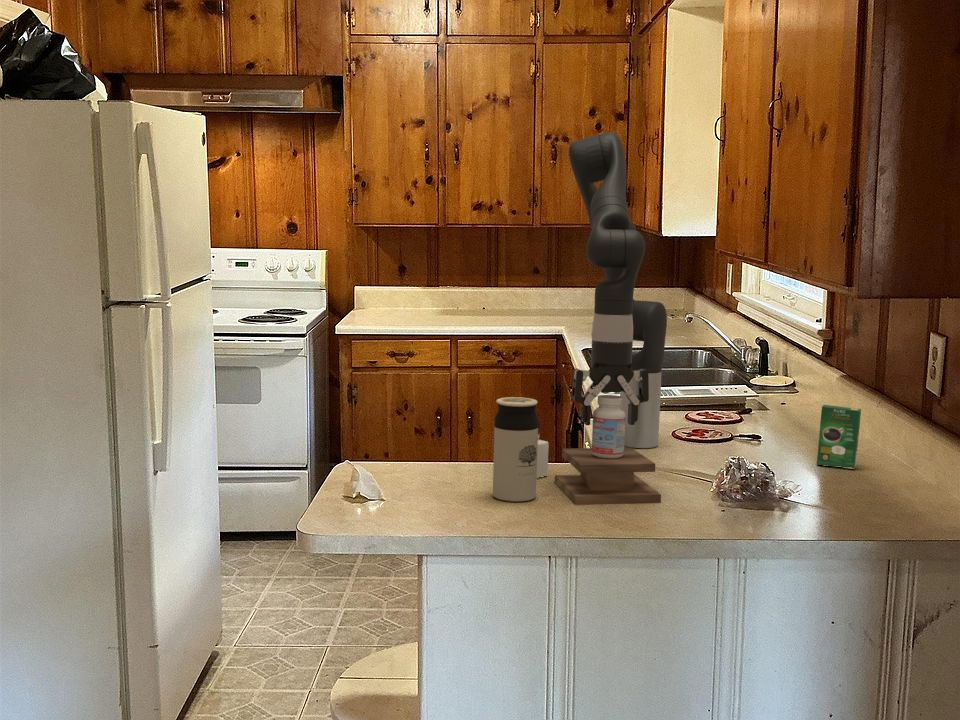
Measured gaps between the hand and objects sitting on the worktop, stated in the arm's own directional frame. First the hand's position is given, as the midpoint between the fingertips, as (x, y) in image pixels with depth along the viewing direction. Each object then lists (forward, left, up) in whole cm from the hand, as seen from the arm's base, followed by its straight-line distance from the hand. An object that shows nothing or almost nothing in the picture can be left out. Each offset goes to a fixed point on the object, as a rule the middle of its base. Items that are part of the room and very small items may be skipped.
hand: (609, 424), depth 194 cm
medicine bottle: (-14, -13, -13) cm, 23 cm away
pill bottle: (0, 0, -6) cm, 6 cm away
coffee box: (-17, +56, -13) cm, 60 cm away
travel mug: (+2, -18, -13) cm, 22 cm away
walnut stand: (0, 0, -13) cm, 13 cm away
